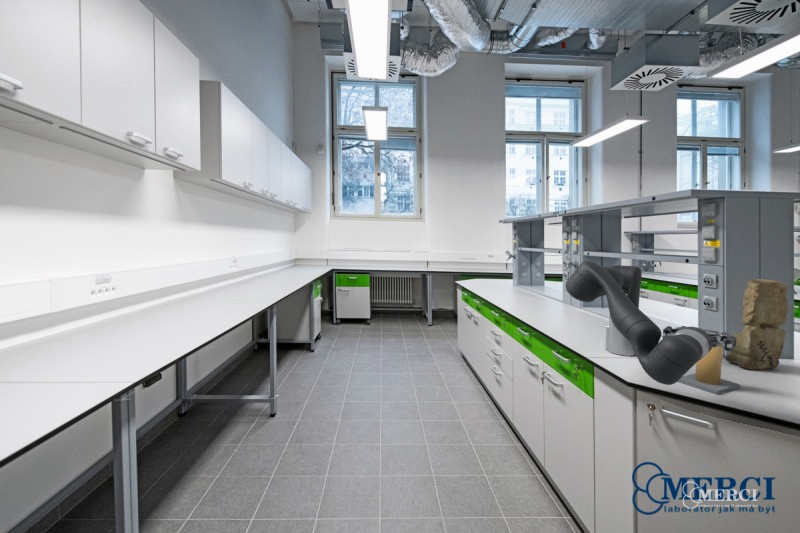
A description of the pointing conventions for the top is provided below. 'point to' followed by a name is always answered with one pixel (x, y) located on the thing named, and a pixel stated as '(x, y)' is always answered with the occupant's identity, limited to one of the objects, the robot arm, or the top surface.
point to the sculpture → (761, 326)
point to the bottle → (710, 365)
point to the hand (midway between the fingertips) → (703, 332)
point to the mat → (714, 389)
